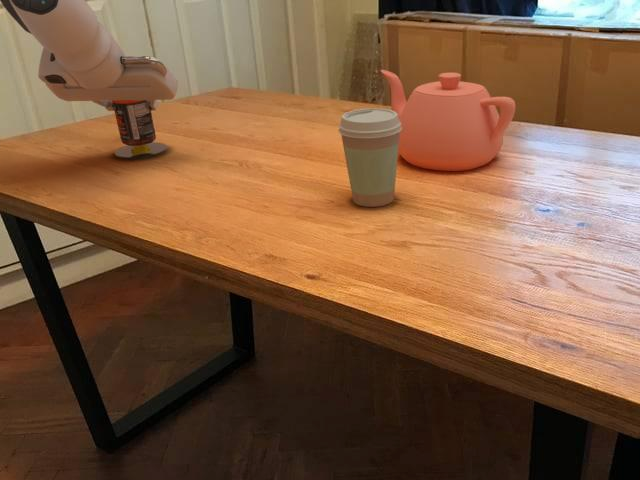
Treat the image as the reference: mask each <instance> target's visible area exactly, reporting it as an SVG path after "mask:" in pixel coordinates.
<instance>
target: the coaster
mask: <svg viewBox="0 0 640 480" xmlns="http://www.w3.org/2000/svg"><path fill="white" fill-rule="evenodd" d="M168 150H169V149H168V145H166V144H165V143H162V142H155V141H153V142H152V143H149V144H145V145H138V146H129V145H125V146H122V147H120V148H118V149H116V150H115V151H114V155H115V156H114V157H116V158H117V159H121V160H142V159H149V158H154V157H158V156H161V155H162V154H164V153H167V151H168Z"/></svg>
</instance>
